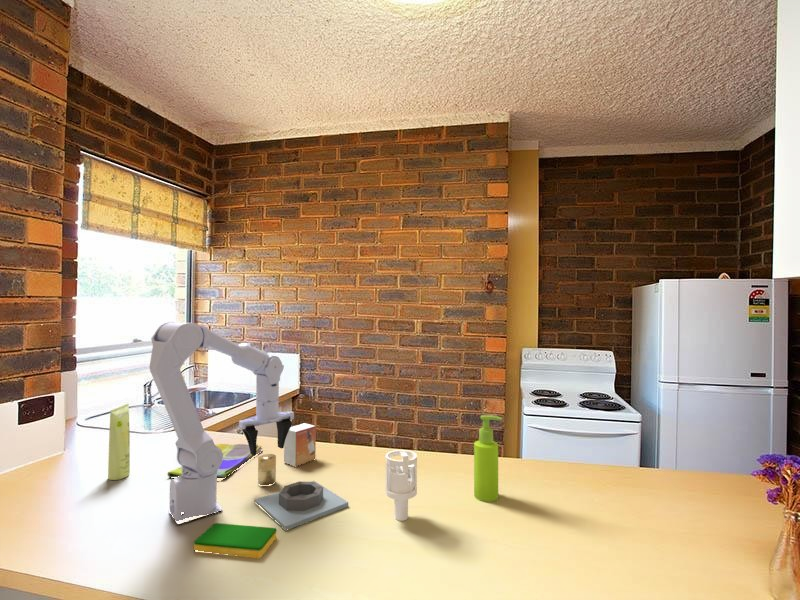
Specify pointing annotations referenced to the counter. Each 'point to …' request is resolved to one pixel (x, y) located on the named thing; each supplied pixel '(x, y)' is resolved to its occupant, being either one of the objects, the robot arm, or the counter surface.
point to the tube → (119, 443)
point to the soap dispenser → (486, 462)
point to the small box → (300, 444)
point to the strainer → (401, 481)
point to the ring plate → (301, 515)
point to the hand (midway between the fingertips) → (267, 450)
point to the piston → (266, 469)
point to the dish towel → (227, 459)
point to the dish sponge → (236, 540)
